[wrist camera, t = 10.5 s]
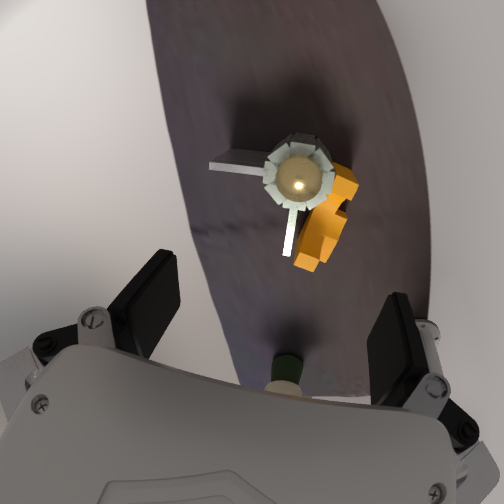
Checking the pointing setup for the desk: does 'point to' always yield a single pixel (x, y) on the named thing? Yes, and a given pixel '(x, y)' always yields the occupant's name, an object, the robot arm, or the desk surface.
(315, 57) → the desk surface
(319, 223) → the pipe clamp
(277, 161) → the hinge
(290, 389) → the character mug
